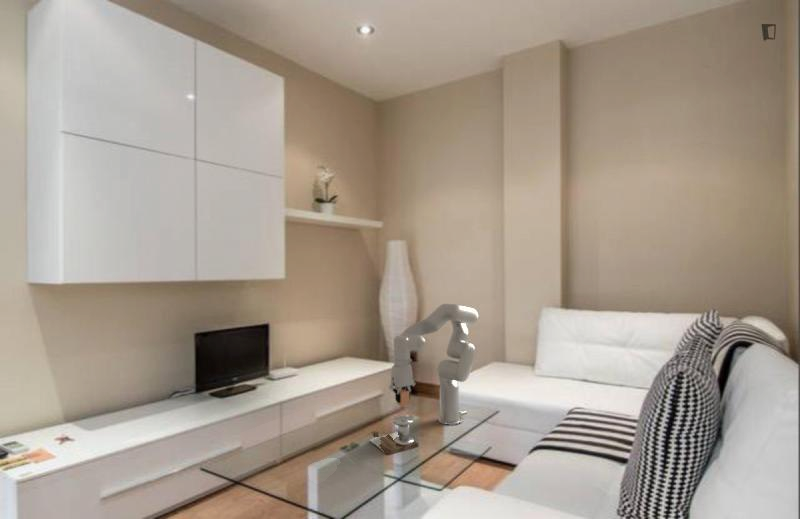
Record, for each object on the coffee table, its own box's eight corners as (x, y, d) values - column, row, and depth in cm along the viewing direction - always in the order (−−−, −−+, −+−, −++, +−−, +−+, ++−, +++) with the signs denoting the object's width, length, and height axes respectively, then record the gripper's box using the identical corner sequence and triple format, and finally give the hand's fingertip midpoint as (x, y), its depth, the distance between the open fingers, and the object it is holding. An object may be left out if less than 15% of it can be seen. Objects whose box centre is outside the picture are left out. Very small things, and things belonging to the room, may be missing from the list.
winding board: (398, 433, 217) (398, 425, 217) (418, 446, 202) (418, 437, 202) (369, 441, 210) (368, 432, 210) (387, 455, 194) (386, 445, 194)
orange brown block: (404, 402, 215) (404, 389, 215) (409, 404, 211) (409, 391, 211) (396, 403, 213) (396, 391, 213) (401, 406, 209) (401, 393, 209)
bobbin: (407, 436, 210) (406, 415, 210) (417, 442, 202) (417, 420, 202) (390, 440, 206) (390, 418, 206) (400, 447, 198) (399, 424, 198)
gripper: (412, 358, 220) (413, 396, 220) (382, 363, 212) (383, 402, 211) (421, 361, 214) (422, 399, 213) (390, 366, 205) (391, 406, 205)
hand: (402, 400), depth 212 cm, fingers closed on orange brown block, 4 cm apart
